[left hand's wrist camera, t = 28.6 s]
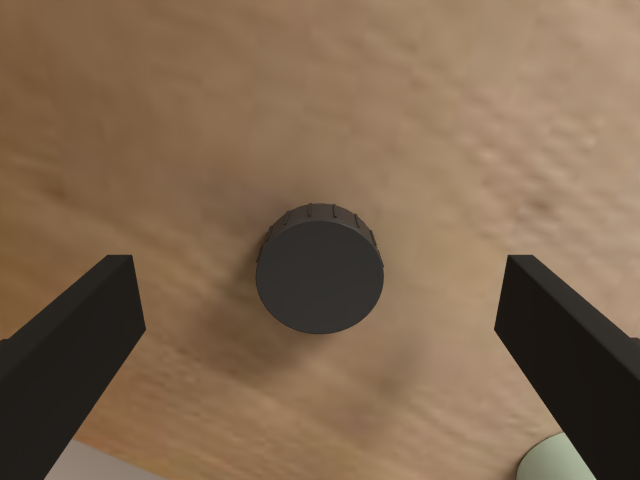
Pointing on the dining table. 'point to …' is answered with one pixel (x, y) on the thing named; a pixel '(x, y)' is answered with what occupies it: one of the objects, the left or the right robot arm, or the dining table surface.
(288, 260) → the cap
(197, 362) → the dining table surface
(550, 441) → the bottle
